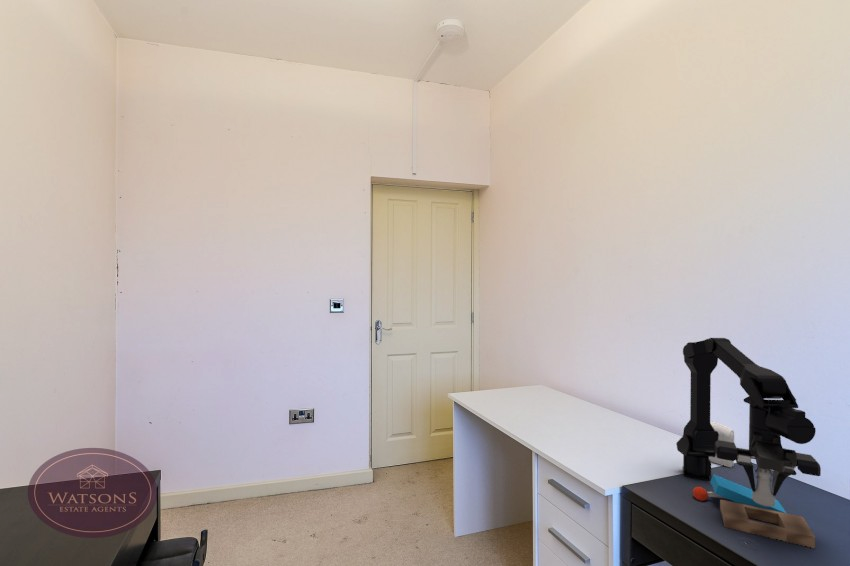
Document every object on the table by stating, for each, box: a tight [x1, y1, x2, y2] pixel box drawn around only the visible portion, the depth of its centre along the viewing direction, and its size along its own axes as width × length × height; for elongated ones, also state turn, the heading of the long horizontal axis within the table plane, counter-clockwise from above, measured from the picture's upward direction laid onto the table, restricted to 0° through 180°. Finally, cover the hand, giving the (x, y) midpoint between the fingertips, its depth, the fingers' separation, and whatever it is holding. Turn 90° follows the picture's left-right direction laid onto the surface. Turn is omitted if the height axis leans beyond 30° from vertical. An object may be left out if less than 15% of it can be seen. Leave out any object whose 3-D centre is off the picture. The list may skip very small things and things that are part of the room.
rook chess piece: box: [751, 466, 776, 507], centre depth 99 cm, size 4×4×8 cm
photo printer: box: [709, 421, 735, 468], centre depth 135 cm, size 10×4×12 cm, turn 35°
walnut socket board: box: [719, 498, 816, 549], centre depth 98 cm, size 16×9×2 cm, turn 61°
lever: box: [692, 473, 787, 513], centre depth 108 cm, size 7×7×18 cm
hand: (763, 493), depth 99 cm, fingers closed on rook chess piece, 3 cm apart
